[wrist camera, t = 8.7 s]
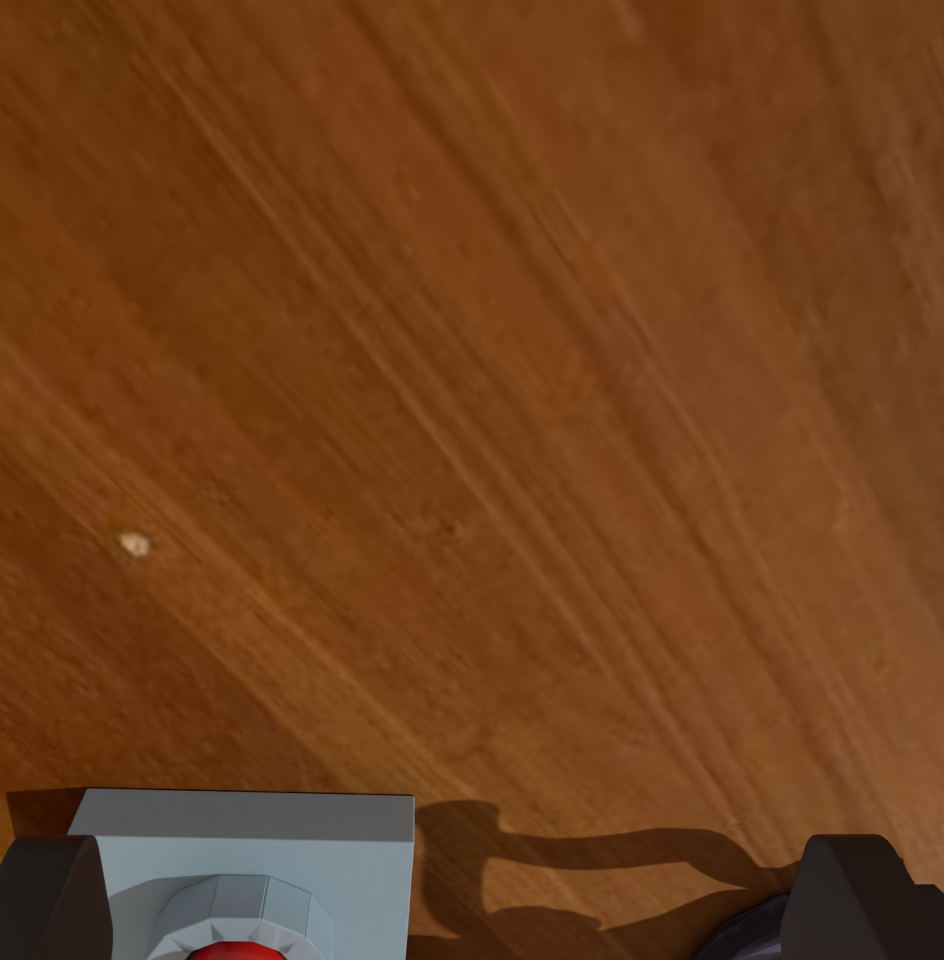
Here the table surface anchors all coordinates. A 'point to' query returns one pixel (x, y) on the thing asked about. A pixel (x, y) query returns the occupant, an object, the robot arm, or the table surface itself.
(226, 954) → the button
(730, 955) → the mug
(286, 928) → the button box
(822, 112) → the table surface
